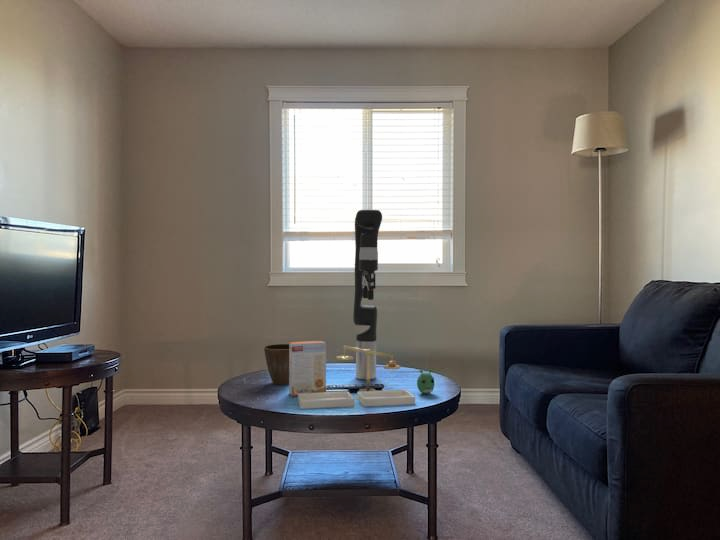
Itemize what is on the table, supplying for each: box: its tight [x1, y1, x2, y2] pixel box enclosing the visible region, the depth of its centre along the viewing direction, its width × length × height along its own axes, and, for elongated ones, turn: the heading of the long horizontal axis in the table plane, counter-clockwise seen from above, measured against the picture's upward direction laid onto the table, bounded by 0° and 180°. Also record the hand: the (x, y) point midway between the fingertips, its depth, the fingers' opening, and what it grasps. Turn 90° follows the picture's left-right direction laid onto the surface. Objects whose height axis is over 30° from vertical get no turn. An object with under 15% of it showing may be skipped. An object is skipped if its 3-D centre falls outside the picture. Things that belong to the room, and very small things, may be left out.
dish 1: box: [297, 390, 355, 410], centre depth 194 cm, size 12×20×3 cm, turn 102°
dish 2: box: [356, 389, 416, 407], centre depth 198 cm, size 12×20×3 cm, turn 102°
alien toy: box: [416, 368, 435, 395], centre depth 210 cm, size 7×8×10 cm
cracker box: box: [288, 340, 327, 398], centre depth 207 cm, size 14×6×21 cm, turn 110°
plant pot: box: [263, 343, 289, 386], centre depth 226 cm, size 15×15×16 cm
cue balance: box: [335, 345, 402, 392], centre depth 209 cm, size 7×27×20 cm, turn 102°
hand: (368, 298), depth 210 cm, fingers open, 8 cm apart
